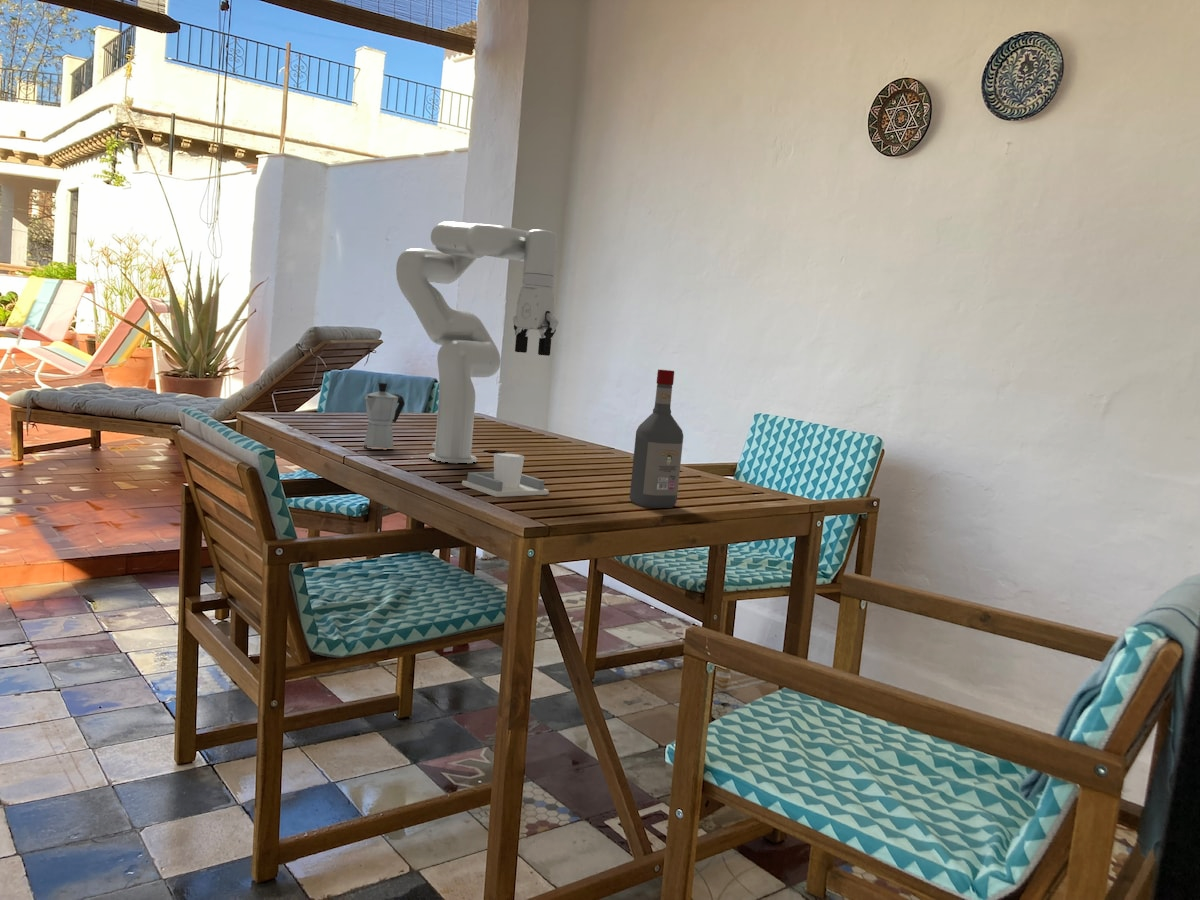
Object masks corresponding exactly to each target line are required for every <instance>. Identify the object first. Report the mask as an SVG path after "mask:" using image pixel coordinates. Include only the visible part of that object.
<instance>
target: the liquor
mask: <svg viewBox="0 0 1200 900" xmlns="http://www.w3.org/2000/svg"><path fill="white" fill-rule="evenodd" d="M656 375H657V376H656V391H655V392H656V393H655V400H654V407H653V409H652V413H651V414H649V416H648V417H646V418H645V419H644V421H643V422H641V423H640V424H639V425H638V427H637V429H636V431H635V440H634V449H633V461H632V470H631V478H630V479H631V480H630V492H629V500H630V503H633V504H635V505H638V506H641V507H644V508H651V509H673V508H674V507H675V505H676V504H677V502H678V492H679V483H680V472H681V464H682V463H681V462H682V454H683V444H684V433H683V429H682V427H681V426H680V425H679V424H678V423H677V421H676V420H675V418H674V416H673V415H672V410H671V407H672V406H671V405H672V404H671V402H672V393H673V392H672V391H673V385H674V381H675V380H674V378H675V370H670V369H669V370H668V369H657V374H656Z"/></svg>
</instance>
